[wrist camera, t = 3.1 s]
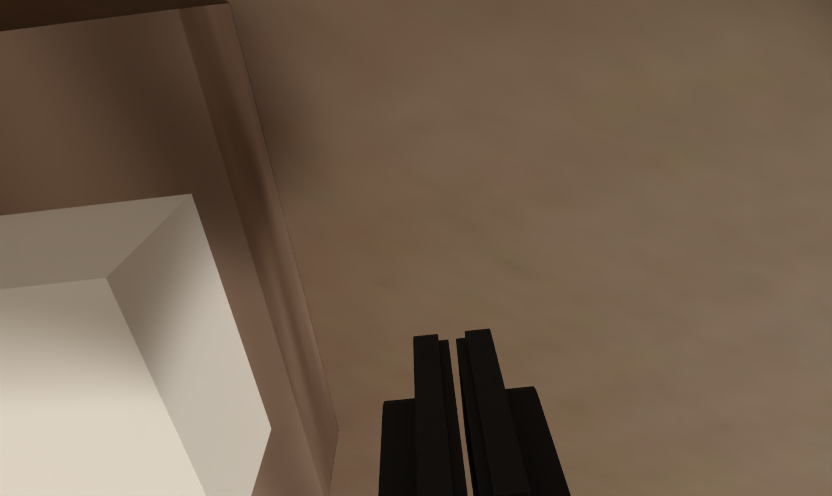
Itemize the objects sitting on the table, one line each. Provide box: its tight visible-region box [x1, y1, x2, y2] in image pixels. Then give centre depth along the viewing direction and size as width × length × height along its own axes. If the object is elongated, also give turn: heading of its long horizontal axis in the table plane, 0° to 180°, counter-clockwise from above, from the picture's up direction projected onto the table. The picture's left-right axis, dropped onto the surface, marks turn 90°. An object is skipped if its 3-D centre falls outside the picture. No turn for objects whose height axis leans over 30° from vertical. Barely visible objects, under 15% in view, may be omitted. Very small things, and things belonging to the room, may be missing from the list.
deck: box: [0, 3, 339, 496], centre depth 16 cm, size 14×16×4 cm
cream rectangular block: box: [0, 194, 271, 496], centre depth 13 cm, size 10×8×4 cm
